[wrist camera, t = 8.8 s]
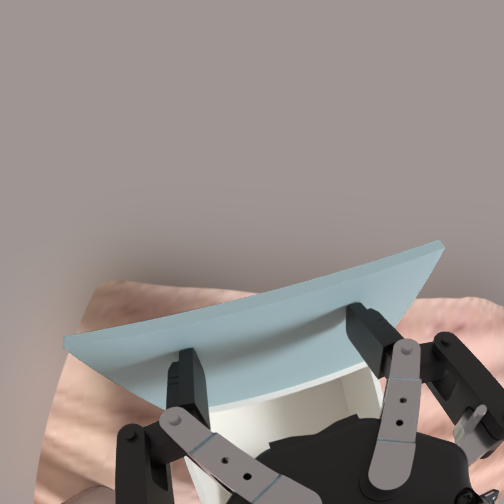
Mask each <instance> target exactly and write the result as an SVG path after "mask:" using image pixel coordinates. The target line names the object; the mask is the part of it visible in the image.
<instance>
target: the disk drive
mask: <svg viewBox="0 0 504 504" xmlns="http://www.w3.org/2000/svg"><path fill="white" fill-rule="evenodd" d="M498 493H499V491H498V490H495V489H493V490H491V491H489V492H487V493H485V494H483V495H480V497H481V498H483V499H484V500H485V501H487V502H488V503H489V504H494V503H495V501H496V499H497V496H498Z"/></svg>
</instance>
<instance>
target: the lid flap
mask: <svg viewBox="0 0 504 504" xmlns="http://www.w3.org/2000/svg"><path fill="white" fill-rule="evenodd" d="M444 249H445V247H444V245H443V244H442V243H441V241H440V240H437V241H434V242H431V243H428V244H425V245H422V246H419V247H416V248H413V249H410V250H407V251H404V252H401V253H398V254H395V255H392V256H388V257H385V258H382V259H379V260H376V261H373V262H370V263H366V264H363V265H360V266H356V267H353V268H350V269H346V270H343V271H340V272H336V273H333V274H330V275H326V276H322V277H319V278H316V279H312V280H308V281H305V282H302V283H298V284H294V285H291V286H287V287H283V288H279V289H276V290H272V291H268V292H264V293H261V294H257V295H253V296H249V297H245V298H241V299H237V300H233V301H229V302H225V303H221V304H217V305H213V306H209V307H204V308H200V309H196V310H192V311H187V312H183V313H178V314H174V315H170V316H165V317H160V318H156V319H151V320H146V321H142V322H137V323H132V324H127V325H122V326H117V327H112V328H107V329H102V330H96V331H91V332H86V333H80V334H75V335H69V336H64V338H63V348H64V349H65V350H67V351H68V352H69V353H71V354H72V355H74V356H75V357H76V358H78V359H79V360H81V361H82V362H83V363H85V364H86V365H88V366H89V367H91V368H92V369H94V370H95V371H97V372H98V373H100V374H101V375H103V376H105V377H106V378H108V379H109V380H111V381H113V382H114V383H116V384H117V385H119V386H121V387H122V388H124V389H126V390H128V391H129V392H131V393H133V394H135V395H136V396H138V397H140V398H142V399H144V400H146V401H147V402H149V403H151V404H153V405H155V406H157V407H159V408H161V409H163V410H166V395H167V380H168V378H167V375H168V369H169V367H170V365H171V363H172V362H176V361H179V351H181V350H186V349H190V348H194V350H195V351H196V353H197V356H198V358H199V360H200V363H201V365H202V367H203V370H204V373H205V377H206V387H207V398H208V407H213V406H218V405H223V404H228V403H232V402H237V401H241V400H245V399H250V398H254V397H258V396H261V395H265V394H269V393H273V392H276V391H280V390H283V389H287V388H290V387H293V386H297V385H300V384H303V383H306V382H309V381H312V380H315V379H318V378H321V377H324V376H327V375H330V374H333V373H335V372H338V371H341V370H343V369H346V368H349V367H351V366H354V365H356V364H359V363H361V362H364V360H363V358H362V357H361V355H360V354H359V352H358V351H357V350H356V348H355V347H354V346H353V344H352V343H351V341H350V340H349V338H348V336H347V333H346V307H347V306H350V305H352V304H355V303H358V302H360V303H362V304H363V305H364V306H365V307H366V309H369V308H372V309H374V310H376V311H378V312H380V313H381V315H382V316H383V317H384V318H385V319H386V320H387V321H388V322H389V323H390V324H391V325H392V326H393V327H394V328H395V327H396V326H397V324H398V323H399V322H400V320H401V319H402V317H403V316H404V314H405V313H406V311H407V310H408V308H409V307H410V306H411V304H412V302H413V301H414V299H415V298H416V296H417V295H418V293H419V291H420V290H421V288H422V287H423V285H424V284H425V282H426V280H427V279H428V277H429V275H430V274H431V272H432V270H433V269H434V267H435V265H436V263H437V262H438V260H439V258H440V256H441V254H442V252H443V250H444Z"/></svg>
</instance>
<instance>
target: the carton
mask: <svg viewBox="0 0 504 504" xmlns="http://www.w3.org/2000/svg"><path fill="white" fill-rule="evenodd" d="M382 402H383V394H382V390H381V386H380V382H379V379H377V378H376V376H375V375H374V374H373V372H372V371H371V369H370V368H369V367H368V365H367V364H366V362H365V361H364V362H361V363H359V364H356V365H354V366H351V367H349V368H346V369H343V370H341V371H338V372H335V373H333V374H330V375H327V376H324V377H321V378H318V379H315V380H312V381H309V382H306V383H303V384H300V385H297V386H293V387H290V388H287V389H283V390H280V391H276V392H273V393H269V394H265V395H261V396H258V397H254V398H250V399H245V400H241V401H237V402H232V403H228V404H223V405H218V406H213V407H208V408H209V417H210V426H211V430H210V431H212V432H213V433H215V432H217V433H219V434H220V435H222V436H223V437H224V438H226V439H227V440H228V441H230V442H231V443H232V444H234V445H235V446H237V447H238V448H239V449H241V450H242V451H244V452H245V453H247V454H248V455H250V456H251V457H253V458H254V459H255V458H256V457H257V456H258V455H259V454H261V453H262V452H264V451H265V450H267V449H269V448H270V446H269V442H273V441H277V440H280V439H284V438H287V437H291V436H302V435H312V434H316V433H318V432H320V431H322V430H323V429H325V428H327V427H328V426H330V425H331V424H333V423H334V422H336V421H339V420H341V419H344V418H346V417H349V416H351V415H354V414H356V413H357V415H358V417H359V419H360V418H378V419H379V416H380V411H381V407H382ZM184 459H185V462H186V465H187V467H188V470H189V473H190V475H191V478H192V481H193V483H194V486H195V488H196V491H197V493H198V496H199V498H200V501H201V503H202V504H226V503H227V501H228V500H229V498H230V496H231V494H230V493H228V492H227V491H226V490H224V489H223V488H222V487H221V486H220V485H218V484H217V483H216V482H215V481H214V480H213V479H212V478H210V477H209V476H208V475H207V474H206V473H205V472H203V471H202V470H201V469H200V468H199V467H198V466H197V465H196V464H194V463H193V462H192V461H191V460H190V459H189V458H188V457H187V456H185V457H184Z"/></svg>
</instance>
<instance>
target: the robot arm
mask: <svg viewBox="0 0 504 504" xmlns="http://www.w3.org/2000/svg"><path fill="white" fill-rule="evenodd" d="M346 333H347V336H348V338H349V340H350V341H351V343H352V344H353V346H354V347H355V348H356V350H357V351H358V352H359V354H360V355H361V357H362V358H363V360H364V361H365V362H366V364H367V365H368V367H369V368H370V369H371V371H372V372H373V374H374V375H375V376H376V378H377V379H380V378H382V377H384V376H385V378H386V379H387V381H386V387H385V392H384V397H383V402H382V407H381V411H380V416H379V419H378V418H360V419H359V417H358V415H357V413H356V414H354V415H351V416H349V417H346V418H344V419H341V420H339V421H336V422H334V423H333V424H331V425H330V426H328V427H327V428H325V429H323V430H322V431H320V432H318V433H316V434H312V435H302V436H291V437H287V438H284V439H280V440H277V441H273V442H269V446H270V448H269V449H267V450H265V451H264V452H262V453H261V454H259V455H258V456H257V457H256V458H255V459H254V458H253V457H251V456H250V455H248V454H247V453H245V452H244V451H242V450H241V449H239V448H238V447H237V446H235V445H234V444H232V443H231V442H230V441H228V440H227V439H226V438H224V437H223V436H222V435H220V434H219V433H217V432H215V433H213V432H212V431H210V430H211V426H210V417H209V408H208V398H207V387H206V377H205V373H204V370H203V367H202V365H201V363H200V360H199V358H198V356H197V353H196V351H195V350H194V348H190V349H186V350H181V351H179V361H176V362H172V363H171V365H170V367H169V369H168V375H167V378H168V380H167V395H166V410H165V411H164V412H163V413H162V414H161V416H160V419H159V421H157V422H155V423H153V424H151V425H148V426H146V427H143V428H142V427H141V426H140V425H138V424H128V425H125V426H124V427H122V428H121V429H120V431H119V432H118V435H117V448H116V472H115V491H113V490H111V489H109V488H106V487H103V486H94V487H91V488H89V489H88V490H86V491H82V492H80V493H78V494H77V495H75V496H73V497H72V498H70V499H68V500H67V501H65V502H63V503H61V504H175V503H174V496H173V488H172V480H171V470H170V462H173V461H175V460H177V459H180V458H182V457H185V456H187V457H188V458H189V459H190V460H191V461H192V462H193V463H194V464H196V465H197V466H198V467H199V468H200V469H201V470H202V471H203V472H205V473H206V474H207V475H208V476H209V477H210V478H212V479H213V480H214V481H215V482H216V483H217V484H218V485H220V486H221V487H222V488H223V489H224V490H226V491H227V492H228V493H230V494H231V496H230V498H229V500H228V501H227V503H226V504H489V503H488V502H487V501H485V500H484V499H483V498H481V497H480V496H479V495H478V494H477V493H475V491H474V490H473V489H472V487H471V483H470V479H469V472H468V467H469V466H470V465H471V464H473V463H474V462H476V461H477V460H478V459H484V458H487V457H489V456H490V455H491V454H492V453H493V452H494V451H495V450H496V449H497V448H498V447H499V446H500V445H501V444H502V443H503V442H504V388H503V387H502V386H501V385H500V384H499V383H498V381H497V380H496V379H495V378H494V377H493V376H492V374H491V373H490V372H489V371H488V370H487V369H486V368H485V367H484V365H483V364H482V363H481V362H480V361H479V360H478V359H477V358H476V357H475V356H474V354H473V353H472V352H471V351H470V350H469V349H468V348H467V347H466V346H465V345H464V344H463V343H462V342H461V341H460V340H459V339H458V338H457V337H456V336H455V335H454V334H453V333H450V332H440V333H438V334H437V335H436V336H435V337H434V341H433V342H428V343H423V344H418V343H417V342H416V341H415V340H412V339H404V338H403V337H402V336H401V335H400V334H399V332H398V331H397V330H396V329H395V328H394V327H393V326H392V325H391V324H390V323H389V322H388V321H387V320H386V319H385V318H384V317H383V316H382V315H381V313H380V312H378V311H376V310H374V309H372V308H369V309H366V307H365V306H364V305H363V304H362V303H360V302H358V303H355V304H352V305H350V306H347V307H346ZM422 383H426V385H427V386H428V387H429V389H430V390H431V392H432V393H433V395H434V396H435V397H436V399H437V400H438V402H439V403H440V405H441V406H442V407H443V409H444V410H445V412H446V413H447V415H448V416H449V418H450V419H451V421H452V422H453V424H454V425H455V428H454V430H453V436H454V439H455V443H456V444H455V443H452V442H449V441H446V440H442V439H439V438H435V437H432V436H429V435H426V434H423V433H419V432H416V431H417V424H418V416H419V407H420V396H421V384H422Z"/></svg>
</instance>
